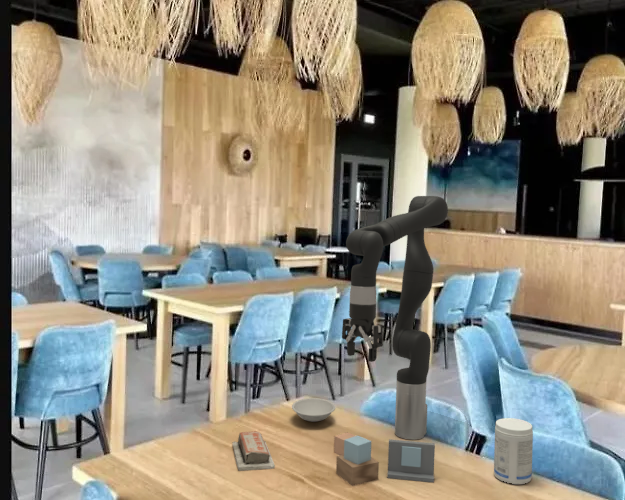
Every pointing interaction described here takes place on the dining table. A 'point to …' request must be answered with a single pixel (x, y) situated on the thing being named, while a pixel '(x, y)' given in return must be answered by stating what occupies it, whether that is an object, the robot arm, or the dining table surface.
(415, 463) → the display stand
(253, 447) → the packaged product
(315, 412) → the dish
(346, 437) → the terracotta block
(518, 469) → the supplement tub
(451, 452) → the dining table surface
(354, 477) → the walnut block
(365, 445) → the blue block
